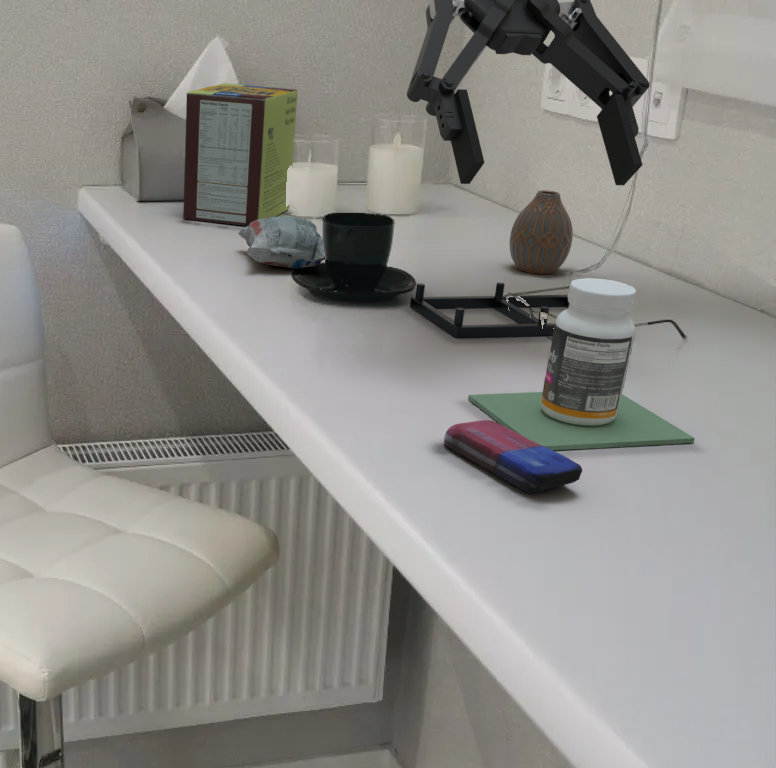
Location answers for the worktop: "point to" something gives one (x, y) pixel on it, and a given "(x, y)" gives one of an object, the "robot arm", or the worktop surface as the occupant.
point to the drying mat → (536, 425)
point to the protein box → (238, 152)
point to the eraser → (512, 456)
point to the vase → (541, 234)
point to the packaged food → (284, 242)
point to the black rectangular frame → (498, 302)
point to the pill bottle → (590, 353)
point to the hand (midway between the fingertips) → (552, 174)
